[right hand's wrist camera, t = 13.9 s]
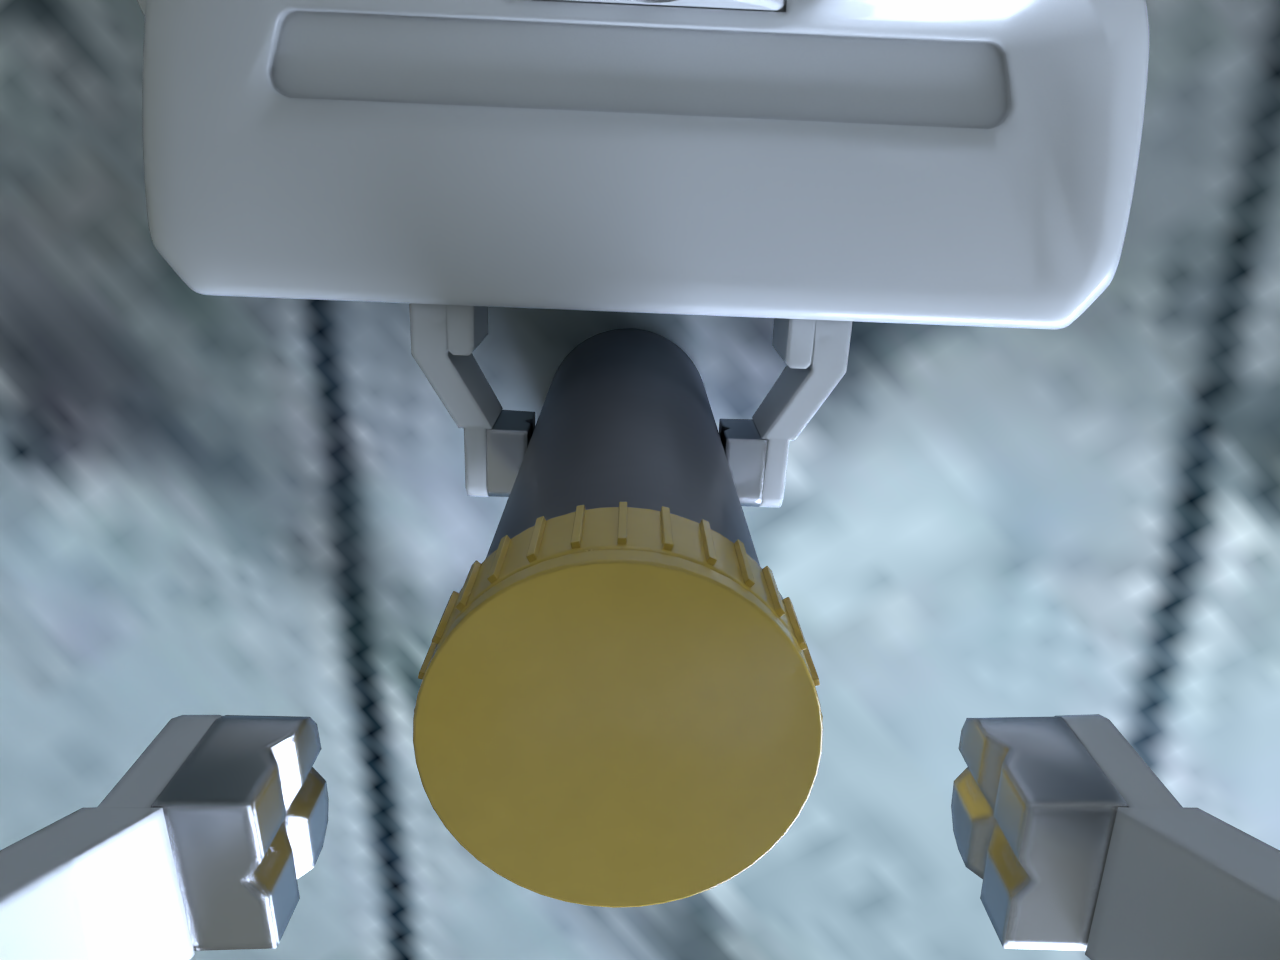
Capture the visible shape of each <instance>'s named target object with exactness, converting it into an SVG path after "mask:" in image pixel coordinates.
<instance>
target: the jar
mask: <svg viewBox="0 0 1280 960" xmlns="http://www.w3.org/2000/svg"><path fill="white" fill-rule="evenodd" d="M619 502H627V507H632V508H643V509H652V510H656V511H661V508H662V506H664V507H668V508H670V514H675V515H678V516H680V517H683V518H686V519H689V520H692V521H695V522H698V523H700V522H701V520H702V519H704V520H706V521H708V522H709V524H710V529H712V530H714V531H716V532H718V533H720V534H721V535H723V536H724V537H726V538H727V539H728V540H730V541H731V542H733V543H735V542H736V541H737V540H740V541H741V542H742V543H744V546H745V550H746V553H747V554H748V555H749V556H750V557H751V558H752V559H754V560H755V561H756V562H757V563H758V565H759V566H760V564H759V561H758V558H757V555H756V551H755V548H754V545H753V542H752V539H751V535H750V532H749V529H748V526H747V523H746V519H745V516H744V513H743V510H742V507H741V503H740V500H739V497H738V494H737V491H736V487H735V484H734V481H733V478H732V475H731V471H730V468H729V465H728V462H727V458H726V455H725V452H724V449H723V446H722V442H721V439H720V436H719V433H718V430H717V426H716V423H715V420H714V417H713V414H712V410H711V407H710V404H709V401H708V398H707V394H706V391H705V388H704V385H703V382H702V379H701V377H700V374H699V372H698V370H697V368H696V367H695V365H694V364H693V362H692V361H691V360H690V358H689V357H688V356H687V355H686V354H685V353H684V352H683V351H682V350H681V349H680V348H679V347H678V346H676V345H675V344H674V343H672V342H671V341H669V340H667V339H665V338H664V337H662V336H660V335H657V334H654V333H652V332H648V331H643V330H637V329H617V330H611V331H607V332H603V333H600V334H597V335H595V336H593V337H591V338H589V339H587V340H586V341H584V342H582V343H581V344H579V345H578V346H577V347H576V348H575V349H573V350H572V351H571V352H570V353H569V354H568V356H567V357H566V358H565V359H564V360H563V362H562V363H561V365H560V366H559V368H558V370H557V372H556V374H555V376H554V378H553V381H552V384H551V386H550V389H549V392H548V394H547V397H546V400H545V402H544V405H543V408H542V410H541V413H540V416H539V418H538V421H537V424H536V426H535V429H534V432H533V434H532V437H531V440H530V442H529V445H528V448H527V450H526V453H525V456H524V458H523V461H522V464H521V466H520V469H519V472H518V474H517V477H516V480H515V482H514V485H513V488H512V490H511V493H510V496H509V498H508V501H507V504H506V506H505V509H504V512H503V514H502V517H501V520H500V522H499V525H498V528H497V530H496V533H495V536H494V538H493V541H492V544H491V546H490V549H489V552H488V554H487V557H488V556H489V555H490V554H492V553H493V552H494V551H495V550H497V549H498V546H499V543H500V540H501V539H502V538H503V537H504V536H506V535H507V536H508V537H509V538H510V539H511V538H513V537H515V536H516V535H518V534H520V533H522V532H523V531H525V530H527V529H528V528H530V527H533V526H535V523H536V519H537V518H539V517H542V516H544V518H545V520H546V521H547V520H549V519H551V518H555V517H558V516H562V515H565V514H569V513H572V512H576V507H577V506H579V505H585V509H586V510H589V509H595V508H607V507H619ZM487 557H486V558H487Z"/></svg>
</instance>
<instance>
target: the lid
mask: <svg viewBox="0 0 1280 960" xmlns="http://www.w3.org/2000/svg"><path fill="white" fill-rule="evenodd" d="M418 678H419V679H423V680H422V683H421V686H420V689H419V692H418V695H417V700H416V706H415V709H414V718H413V744H414V751H415V759H416V764H417V768H418V771H419V775H420V778H421V781H422V785H423V787H424V790H425V792H426V794H427V796H428V798H429V800H430V803H431V805H432V807H433V809H434V810H435V812H436V813H437V815H438V816H439V818H440V819H441V821H442V822H443V824H444V826H445V827H446V828H447V829H448V830H449V832H450V833H451V834H452V835H453V836H454V837H455V839H456V840H457V841H458V842H459V843H460V844H461V845H462V846H463V847H464V848H465V849H466V850H467V851H468V852H469V853H471V854H472V855H473V856H474V857H475V858H476V859H477V860H478V861H480V862H481V863H483V864H484V865H485V866H487V867H488V868H490V869H491V870H493V871H494V872H495V873H497V874H499V875H500V876H502V877H504V878H506V879H508V880H510V881H511V882H513V883H515V884H517V885H519V886H521V887H524V888H526V889H529V890H531V891H533V892H536V893H538V894H541V895H544V896H548V897H551V898H555V899H558V900H562V901H565V902H571V903H577V904H582V905H588V906H600V907H640V906H647V905H655V904H662V903H667V902H671V901H675V900H679V899H683V898H687V897H690V896H693V895H695V894H698V893H701V892H704V891H706V890H709V889H711V888H713V887H715V886H718V885H720V884H722V883H724V882H726V881H728V880H730V879H732V878H733V877H735V876H736V875H738V874H739V873H741V872H743V871H744V870H746V869H747V868H749V867H750V866H752V865H753V864H754V863H755V862H757V861H758V860H759V859H760V858H762V857H763V856H764V855H765V854H766V853H768V852H769V851H770V850H771V849H772V848H773V847H774V846H775V845H776V844H777V842H778V841H779V840H780V839H781V838H782V837H783V836H784V835H785V834H786V833H787V831H788V830H789V828H790V827H791V826H792V824H793V823H794V821H795V820H796V819H797V817H798V816H799V814H800V812H801V810H802V809H803V807H804V805H805V803H806V801H807V799H808V797H809V795H810V793H811V790H812V787H813V784H814V781H815V778H816V776H817V773H818V768H819V763H820V758H821V753H822V736H823V725H822V719H823V716H822V713H821V708H820V702H819V699H818V695H817V691H816V688H815V686H818V685H820V682H819V678H818V675H817V672H816V670H815V667H814V664H813V661H812V658H811V656H810V653H809V650H808V647H807V644H806V641H805V638H804V636H803V633H802V630H801V627H800V625H799V622H798V619H797V616H796V613H795V611H794V608H793V605H792V602H791V600H790V598H789V597H787V598H785V599H783V597H782V596H781V594H780V593H779V591H778V588H777V585H776V582H775V579H774V576H773V573H772V571H771V569H770V568H769V567H768V566H766V567H765V568H763V569H762V568H761V567H760V566H759V565H758V563H757V562H756V561H755V560H754V559H752V558H751V557H750V556H749V555H748V554H747V553H746V550H745V546H744V543H742V542H741V541H740V540H737V541H736V542H735V543H733V542H731V541H730V540H728V539H727V538H726V537H724V536H723V535H721V534H720V533H718V532H716V531H714V530H712V529H710V524H709V522H708V521H706V520H704V519H702V520H701V522H700V523H698V522H695V521H692V520H689V519H686V518H683V517H680V516H678V515H675V514H670V508H668V507H664V506H662V508H661V511H656V510H652V509H643V508H632V507H627V502H619V507H607V508H595V509H589V510H586V509H585V505H579V506H577V507H576V512H572V513H569V514H565V515H562V516H558V517H555V518H551V519H549V520H547V521H546V520H545V518H544V516H542V517H539V518H537V519H536V523H535V526H533V527H530V528H528V529H527V530H525V531H523V532H522V533H520V534H518V535H516V536H515V537H513V538H511V539H510V538H509V537H508V536H507V535H506V536H504V537H503V538H502V539H501V540H500V543H499V546H498V549H497V550H495V551H494V552H493V553H492V554H490V555H489V556H488V557H487V558H486V560H485V561H484V562H483V563H482V564H481V563H479V562H478V561H475V562H474V564H473V565H472V566H471V569H470V571H469V574H468V576H467V579H466V581H465V584H464V586H463V588H462V589H461V591H460V593H457V592H455V591H453V593H452V595H451V597H450V599H449V601H448V604H447V606H446V608H445V611H444V613H443V615H442V618H441V620H440V622H439V625H438V627H437V630H436V632H435V634H434V637H433V639H432V643H431V646H430V648H429V650H428V653H427V655H426V658H425V660H424V662H423V665H422V667H421V669H420V672H419V676H418Z"/></svg>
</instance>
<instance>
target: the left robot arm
mask: <svg viewBox="0 0 1280 960" xmlns="http://www.w3.org/2000/svg"><path fill="white" fill-rule="evenodd" d="M137 1H138V3H139V6H140V8H141V10H142V12H143V14H144V16H145V27H144V47H143V80H142V128H143V159H144V178H145V193H146V207H147V216H148V224H149V231H150V235H151V238H152V242H153V244H154V246H155V248H156V249H157V251H158V252H159V253H160V254H161V256H162V257H163V258H164V259H165V260H166V261H167V263H168V264H169V265H170V266H171V267H172V269H173V270H174V271H175V272H176V273H177V274H178V276H179V277H180V278H181V279H182V280H183V281H184V282H185V283H186V284H187V285H188V286H189V287H190V289H192V290H193V291H195V292H197V293H200V294H204V295H218V296H241V297H266V298H291V299H315V300H340V301H365V302H390V303H409V306H410V330H411V353H412V356H413V357H414V359H415V360H416V362H417V364H418V365H419V367H420V368H421V370H422V371H423V373H424V374H425V376H426V378H427V379H428V381H429V382H430V384H431V385H432V387H433V389H434V390H435V392H436V393H437V395H438V396H439V398H440V399H441V401H442V403H443V404H444V406H445V407H446V409H447V410H448V412H449V414H450V415H451V417H452V418H453V420H454V421H455V423H456V425H457V426H458V428H464V445H465V482H466V491H467V494H468V496H479V497H489V496H498V497H509V496H510V493H511V490H512V488H513V485H514V482H515V480H516V477H517V474H518V472H519V469H520V466H521V464H522V461H523V458H524V456H525V453H526V450H527V448H528V445H529V442H530V440H531V437H532V434H533V432H534V429H535V412H530V411H514V410H502V409H503V408H502V406H501V404H500V403H499V401H498V399H497V397H496V395H495V394H494V392H493V390H492V388H491V387H490V385H489V383H488V381H487V379H486V378H485V376H484V374H483V372H482V371H481V369H480V367H479V365H478V363H477V362H476V360H475V358H474V356H473V355H472V352H473V351H474V350H475V349H476V347H477V346H478V345H479V344H480V343H481V342H482V341H483V339H484V338H485V337H486V336H487V335H488V307H513V308H538V309H563V310H587V311H612V312H637V313H661V314H686V315H711V316H735V317H760V318H774V328H773V342H772V346H773V347H774V348H775V350H776V351H777V352H778V354H779V355H780V356H781V358H782V359H783V360H784V362H785V363H786V364H787V366H786V367H785V369H784V370H783V372H782V373H781V375H780V376H779V378H778V379H777V381H776V382H775V384H774V385H773V387H772V388H771V390H770V391H769V393H768V394H767V396H766V397H765V399H764V400H763V402H762V403H761V405H760V406H759V408H758V409H757V411H756V412H755V414H754V415H753V417H752V418H753V419H720V424H719V436H720V439H721V442H722V446H723V449H724V452H725V455H726V458H727V462H728V465H729V468H730V471H731V475H732V478H733V481H734V484H735V487H736V491H737V494H738V497H739V500H740V503H741V506H754V507H780V506H781V504H782V501H783V497H784V488H785V478H786V468H787V458H788V448H789V440H795V439H796V438H797V437H798V435H799V434H800V433H801V431H802V430H803V429H804V427H805V426H806V425H807V423H808V422H809V421H810V419H811V418H812V417H813V415H814V414H815V413H816V411H817V410H818V409H819V407H820V406H821V405H822V403H823V402H824V401H825V399H826V398H827V397H828V395H829V394H830V393H831V391H832V390H833V389H834V387H835V386H836V385H837V384H838V382H839V381H840V380H841V378H842V377H843V376H844V374H845V373H846V369H847V361H848V353H849V345H850V337H851V329H852V321H859V322H884V323H908V324H933V325H958V326H983V327H1007V328H1033V329H1060V328H1065V327H1067V326H1068V325H1070V324H1071V323H1072V322H1073V321H1074V320H1076V319H1077V318H1078V317H1079V316H1080V315H1081V314H1082V313H1083V312H1084V311H1085V310H1086V309H1087V308H1088V307H1089V306H1090V305H1091V304H1092V303H1093V302H1094V301H1095V300H1096V299H1097V298H1098V297H1099V295H1100V294H1101V293H1102V292H1103V291H1104V290H1105V289H1106V288H1107V287H1108V286H1109V284H1110V282H1111V281H1112V279H1113V277H1114V274H1115V271H1116V269H1117V266H1118V263H1119V259H1120V255H1121V251H1122V247H1123V243H1124V238H1125V233H1126V228H1127V224H1128V219H1129V213H1130V207H1131V202H1132V196H1133V191H1134V185H1135V178H1136V172H1137V165H1138V159H1139V151H1140V143H1141V135H1142V127H1143V118H1144V109H1145V98H1146V88H1147V77H1148V62H1149V20H1148V10H1147V5H1146V0H137Z"/></svg>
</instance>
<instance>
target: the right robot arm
mask: <svg viewBox="0 0 1280 960" xmlns="http://www.w3.org/2000/svg"><path fill="white" fill-rule="evenodd" d="M320 750H321V744H320V738H319V733H318V727H317V724H316V723H315V722H314V721H313V720H312V719H311V717H290V716H243V715H225V716H221V715H181V716H178V717H175V718H172V719H171V720H170V721H169V722H168V723H167V725H166V726H165V727H164V728H163V729H162V731H161V732H160V733H159V734H158V735H157V736H156V738H155V739H154V740H153V741H152V742H151V744H150V745H149V746H148V747H147V748H146V750H145V751H144V752H143V753H142V754H141V756H140V757H139V758H138V759H137V760H136V762H135V763H134V764H133V765H132V766H131V768H130V769H129V770H128V771H127V772H126V774H125V775H124V776H123V777H122V778H121V780H120V781H119V782H118V783H117V784H116V786H115V787H114V788H113V789H112V790H111V792H110V793H109V794H108V795H107V796H106V798H105V799H104V800H103V801H102V802H101V804H100V805H99V806H98V807H97V808H81V809H79V810H78V811H76V812H74V813H72V814H70V815H68V816H66V817H64V818H62V819H60V820H58V821H56V822H54V823H53V824H51V825H49V826H47V827H45V828H43V829H41V830H39V831H37V832H35V833H33V834H31V835H29V836H28V837H26V838H24V839H22V840H20V841H18V842H16V843H14V844H12V845H10V846H8V847H6V848H4V849H3V850H1V851H0V960H190V959H191V958H192V957H193V956H194V954H195V953H194V951H198V950H232V949H267V948H277V946H278V944H279V942H280V940H281V938H282V936H283V933H284V931H285V929H286V927H287V925H288V923H289V920H290V918H291V916H292V914H293V912H294V910H295V908H296V905H297V903H298V901H299V899H300V897H299V890H298V884H297V879H298V878H300V877H301V876H302V875H304V874H305V873H306V872H308V871H309V870H310V869H312V868H313V867H314V866H315V864H316V861H317V859H318V857H319V854H320V852H321V850H322V847H323V843H324V838H325V833H326V828H327V824H328V792H327V784H326V781H325V780H324V779H323V778H322V776H321V775H320V774H319V773H318V772H317V771H316V770H315V769H314V768H313V767H312V766H313V764H314V762H315V760H316V758H317V756H318V754H319V752H320ZM959 750H960V752H961V754H962V756H963V758H964V760H965V762H966V764H967V766H968V767H967V768H966V769H965V770H964V771H963V772H962V773H961V774H960V775H959V776H958V778H957V779H956V780H955V781H954V785H953V794H952V803H951V810H952V821H953V832H954V835H955V839H956V843H957V846H958V850H959V852H960V854H961V857H962V859H963V861H964V864H965V866H966V867H967V868H968V869H970V870H971V871H972V872H974V873H975V874H976V875H978V876H979V877H980V878H982V879H983V884H982V890H981V897H980V899H981V901H982V903H983V905H984V908H985V910H986V912H987V914H988V916H989V918H990V920H991V923H992V925H993V927H994V929H995V931H996V933H997V935H998V938H999V940H1000V942H1001V944H1002V946H1003V948H1011V949H1046V950H1081V951H1086V952H1085V955H1086V956H1087V957H1089V958H1090V959H1091V960H1280V851H1279V850H1277V849H1275V848H1273V847H1272V846H1270V845H1268V844H1266V843H1264V842H1262V841H1260V840H1258V839H1256V838H1254V837H1252V836H1250V835H1249V834H1247V833H1245V832H1243V831H1241V830H1239V829H1237V828H1235V827H1233V826H1231V825H1229V824H1227V823H1226V822H1224V821H1222V820H1220V819H1218V818H1216V817H1214V816H1212V815H1210V814H1208V813H1206V812H1204V811H1202V810H1201V809H1199V808H1183V807H1182V806H1181V805H1180V804H1179V802H1178V801H1177V800H1176V799H1175V798H1174V796H1173V795H1172V794H1171V793H1170V792H1169V790H1168V789H1167V788H1166V787H1165V786H1164V784H1163V783H1162V782H1161V781H1160V780H1159V778H1158V777H1157V776H1156V775H1155V774H1154V772H1153V771H1152V770H1151V769H1150V768H1149V767H1148V765H1147V764H1146V763H1145V762H1144V761H1143V759H1142V758H1141V757H1140V756H1139V755H1138V753H1137V752H1136V751H1135V750H1134V749H1133V747H1132V746H1131V745H1130V744H1129V743H1128V741H1127V740H1126V739H1125V738H1124V737H1123V735H1122V734H1121V733H1120V732H1119V731H1118V730H1117V728H1116V727H1115V726H1114V725H1113V724H1112V722H1111V721H1110V720H1109V719H1107V718H1105V717H1103V716H1101V715H1099V714H1094V715H1064V716H1054V717H1005V718H967V719H966V721H965V723H964V725H963V728H962V730H961V736H960V743H959Z"/></svg>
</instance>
